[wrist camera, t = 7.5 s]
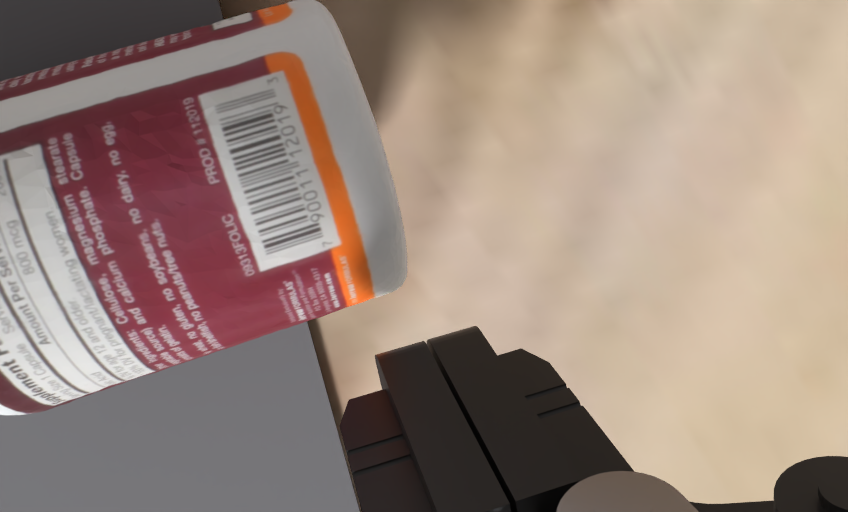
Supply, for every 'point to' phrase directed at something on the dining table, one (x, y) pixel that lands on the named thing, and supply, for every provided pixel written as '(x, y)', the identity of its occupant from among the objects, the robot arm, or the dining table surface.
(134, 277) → the pill bottle
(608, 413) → the dining table surface
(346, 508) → the mat
